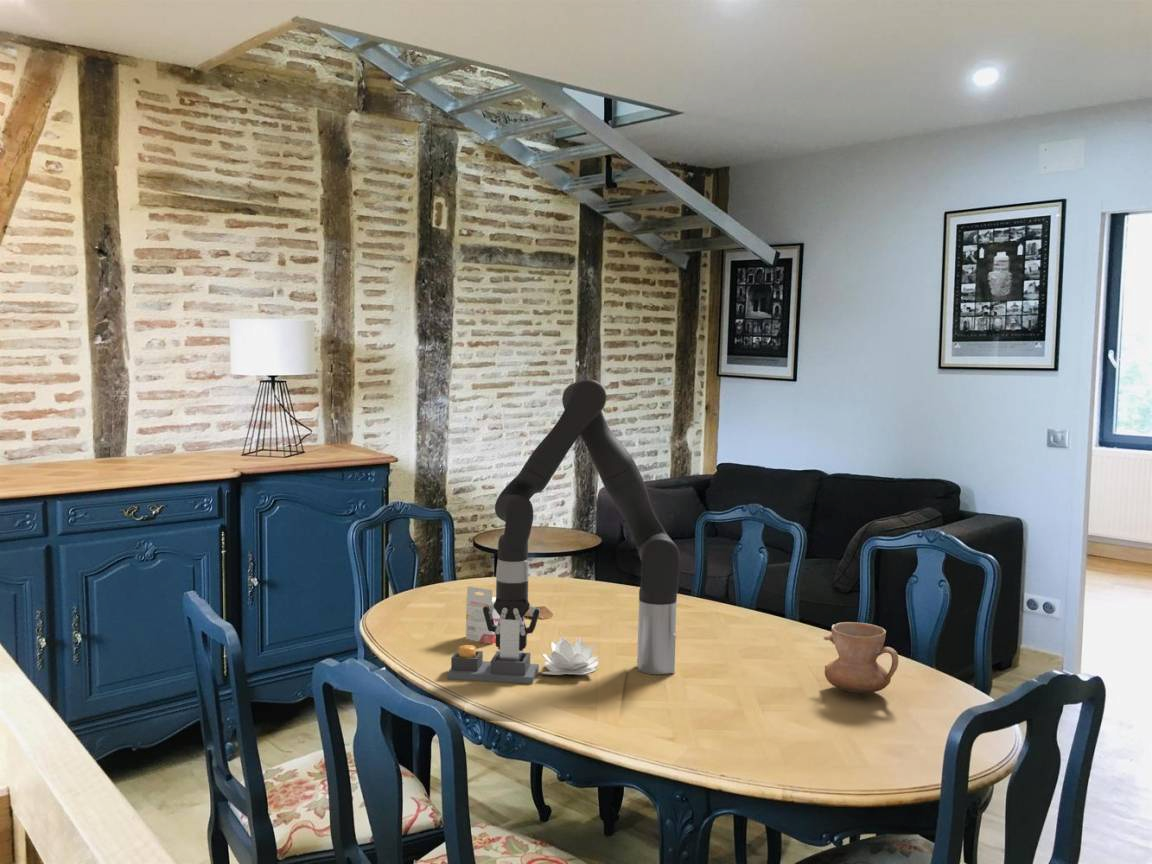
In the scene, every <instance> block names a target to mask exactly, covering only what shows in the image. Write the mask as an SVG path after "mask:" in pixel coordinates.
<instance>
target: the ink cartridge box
mask: <svg viewBox="0 0 1152 864" xmlns="http://www.w3.org/2000/svg"><path fill="white" fill-rule="evenodd" d="M479 592H480V593H482V594H476V593H479ZM495 601H496V596H493V589H489V588H482V587H474V586H467V592H466V601H465V603H466V607H465V608H466V609H465V611H466V612H465V613H466V614H465V640H468V639H470V640H469V641H473V640H474V641H473V642H478V641H480V642H479V643H482V642H485V643H484V644H487V643H489V644H488V645H494V644H496V634H495V632H492V631H489V630H488V628H487V624H486V620H485V616H484V612H483V608H484V606H485V605H487V604H488V605H491V604H494V603H495ZM492 617H493V621H494V624H495V625H496V626H497V625H498V621H499V618H500V616H499V614H498V613H497V611H496V610H495V608H494V609H493V613H492ZM493 643H494V644H493Z"/></svg>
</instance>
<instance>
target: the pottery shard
mask: <svg viewBox="0 0 1152 864" xmlns="http://www.w3.org/2000/svg"><path fill="white" fill-rule="evenodd" d="M534 607H535V608H537V607H538V606H534ZM539 607H540V609H541V610H540V614H539V617H538V620H547V619H551V618H553V617H554V613H553V612H552V611H551V610H550V609H549V608H548V607H546V605H545V606H544V605H543V606H539ZM524 617H530V618H532V616H531V615H530V611H529V610H528V611H527V612H526V614H525V615H524Z"/></svg>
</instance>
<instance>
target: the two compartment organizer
mask: <svg viewBox="0 0 1152 864" xmlns="http://www.w3.org/2000/svg"><path fill="white" fill-rule="evenodd" d="M483 654H484V653H483V651H482V650H481V651H480V650H476V657H475V658H468V657H459V649H457V650H455V653H453V655H451V657H450V658H451V660H450V661H451V664H450V666H451V667H450V669H449V670H448V671H447V679H448V680H460V681H461V680H462V681H477V682H478V681H479V682H493V683H495V682H496V683H511V684H512V683H513V684H530V685H533V684H534V681H535V680H536V677H537V675H538V673H539V671H540V669H539V668H540V664H539V663H538V664H537V663H531V652H525V651H522V657H521V659H520V661H519V662H517V661H500V650H497V651H496V652H495V654H494V655H493V657H492V658H491V660H490V661H489V660H488V661H486V660H483V659H484V658H483V656H484V655H483Z"/></svg>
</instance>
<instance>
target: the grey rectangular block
mask: <svg viewBox="0 0 1152 864" xmlns="http://www.w3.org/2000/svg"><path fill="white" fill-rule="evenodd" d="M520 635H521V633H520V620H517V619H511V618H505V619H501V620H500V650H499V651H500V661H517V662H519V661H520V659H521V657H522V652H523V651H520Z"/></svg>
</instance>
